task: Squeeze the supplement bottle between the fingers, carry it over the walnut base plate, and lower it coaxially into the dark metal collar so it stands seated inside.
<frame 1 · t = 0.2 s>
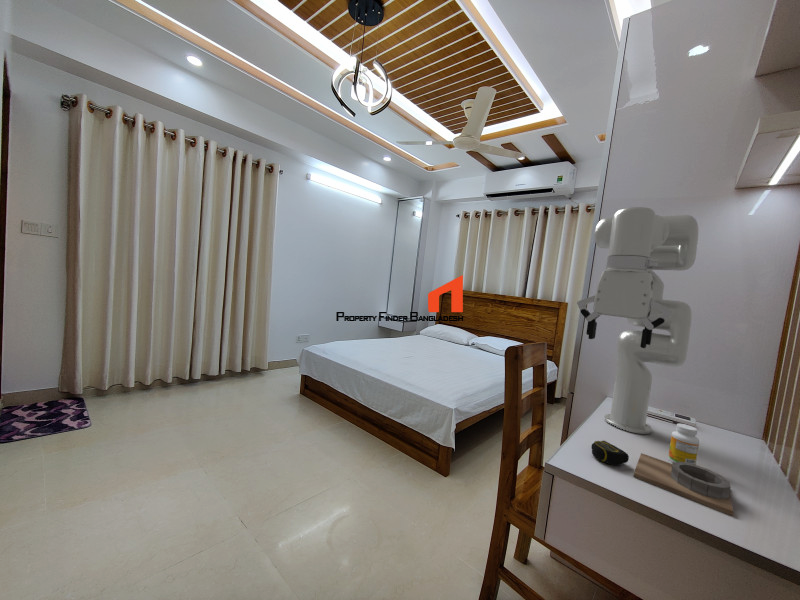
hand: (616, 342, 70), 31 cm above the table, fingers open, 9 cm apart
holder: (679, 482, 73), on the table
supplement bottle: (681, 463, 83), on the table
tape measure: (606, 460, 81), on the table
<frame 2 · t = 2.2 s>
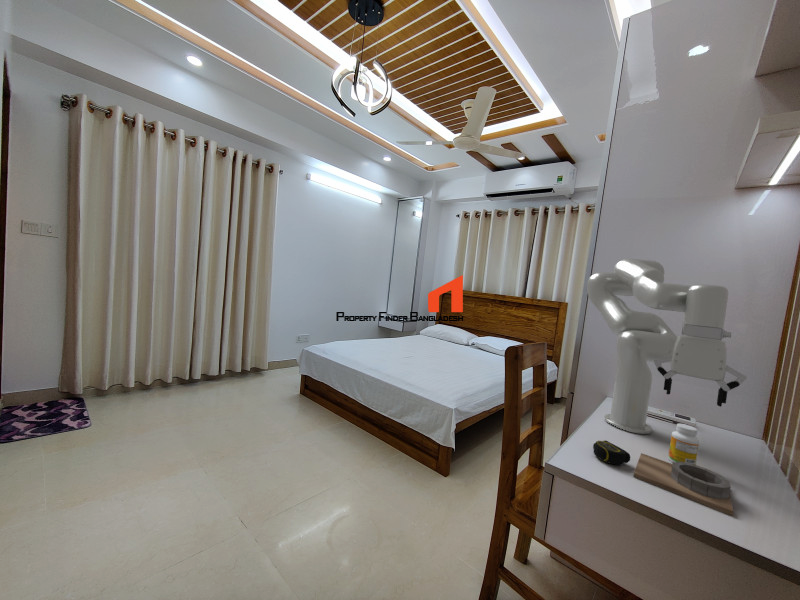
hand: (692, 399, 81), 17 cm above the table, fingers open, 9 cm apart
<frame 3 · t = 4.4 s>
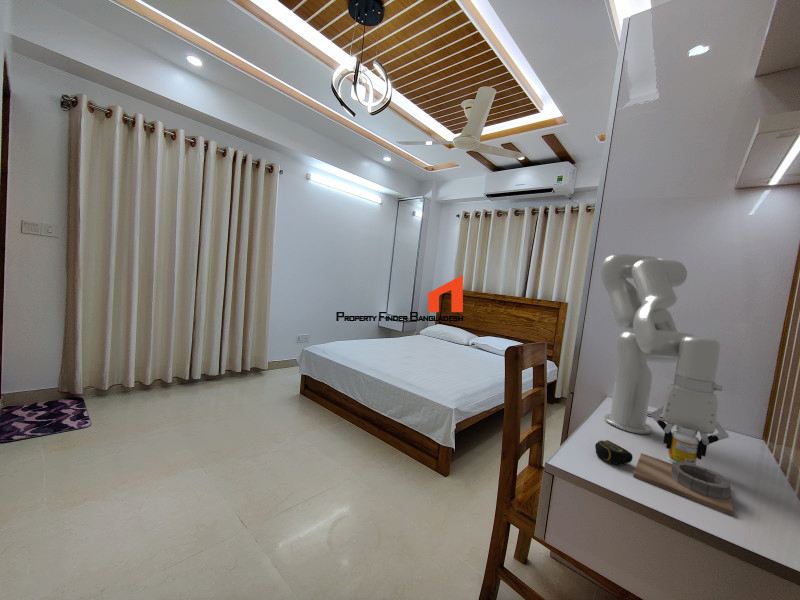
hand: (683, 451, 82), 3 cm above the table, fingers closed on supplement bottle, 5 cm apart
supplement bottle: (681, 463, 83), on the table, touching gripper
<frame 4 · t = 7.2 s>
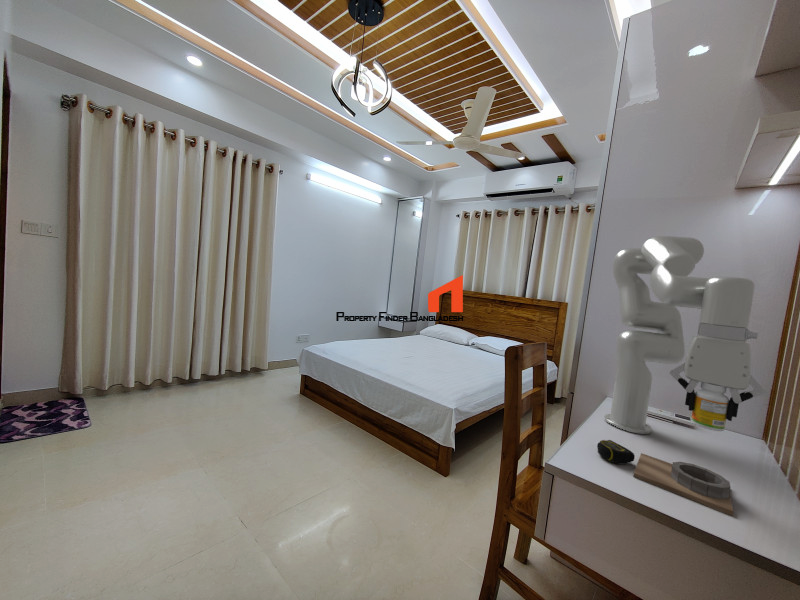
hand: (709, 413, 70), 17 cm above the table, fingers closed on supplement bottle, 5 cm apart
supplement bottle: (706, 427, 70), point 14 cm above the table, touching gripper
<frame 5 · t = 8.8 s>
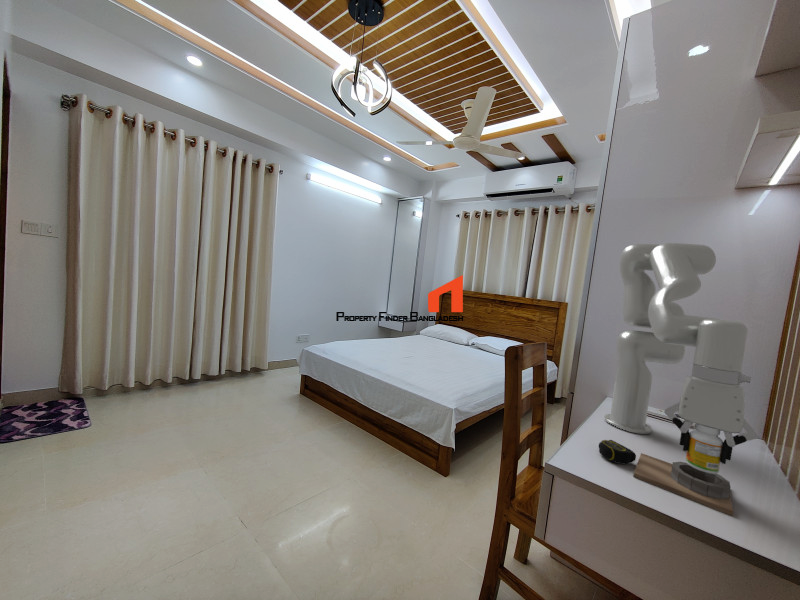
hand: (703, 454, 70), 8 cm above the table, fingers closed on supplement bottle, 5 cm apart
supplement bottle: (701, 468, 71), point 5 cm above the table, touching gripper
when the fingers open (6 cm above the table, at t = 10.1 s): supplement bottle drops 2 cm, resting on holder.
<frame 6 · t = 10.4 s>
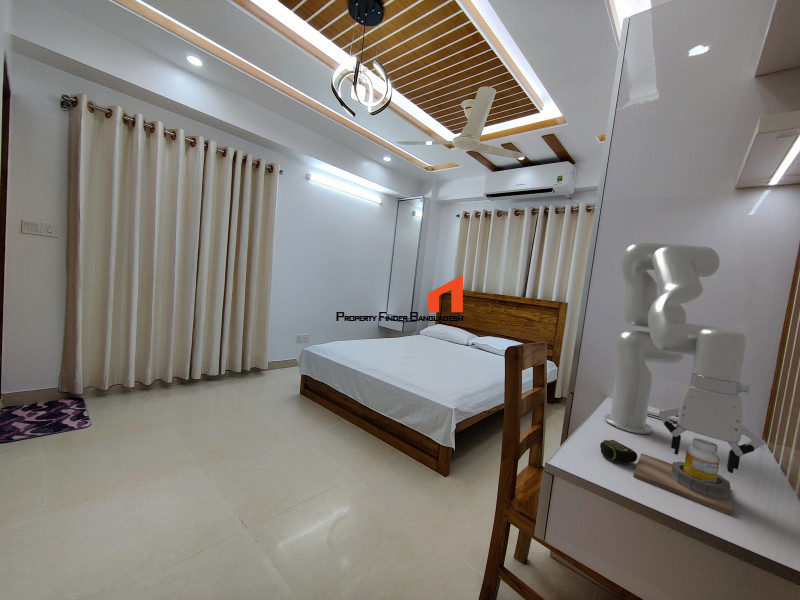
hand: (702, 460, 71), 7 cm above the table, fingers open, 8 cm apart
supplement bottle: (697, 484, 71), point 1 cm above the table, touching holder
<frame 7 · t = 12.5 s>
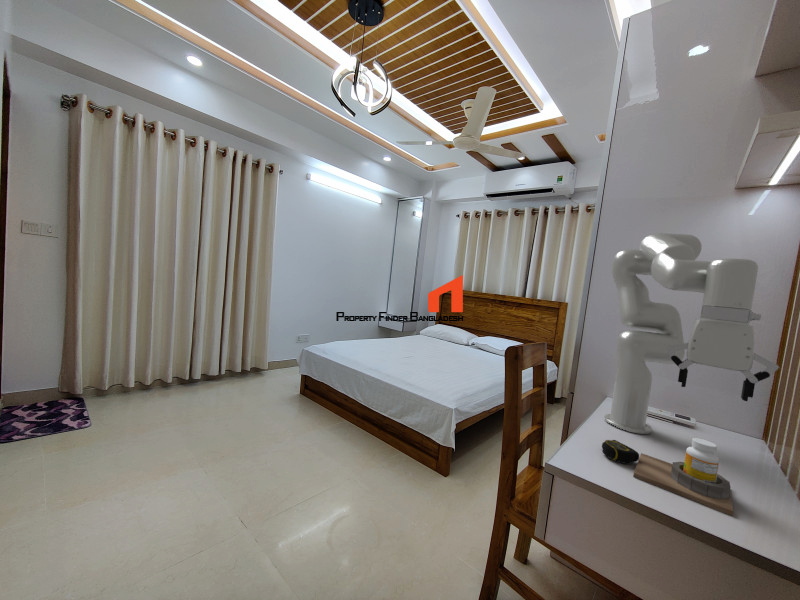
hand: (712, 392, 70), 22 cm above the table, fingers open, 9 cm apart
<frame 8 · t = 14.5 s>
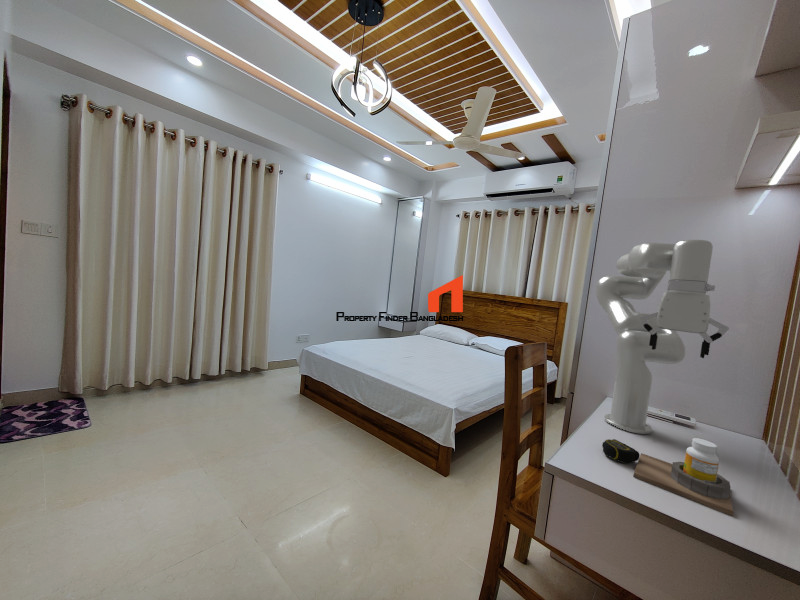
hand: (676, 353, 83), 28 cm above the table, fingers open, 9 cm apart
at the end: supplement bottle 0.2 cm from the target spot on the holder, point 0.8 cm above the holder's base; supplement bottle tilted 0°; the gripper is holding nothing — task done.
